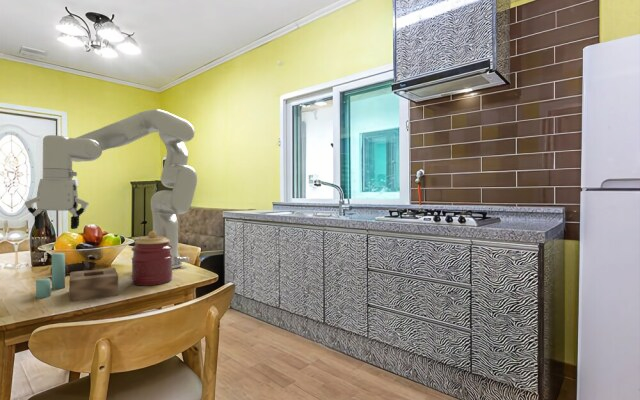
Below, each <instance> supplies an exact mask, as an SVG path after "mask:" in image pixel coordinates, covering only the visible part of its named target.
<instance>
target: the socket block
mask: <svg viewBox="0 0 640 400" xmlns="http://www.w3.org/2000/svg"><path fill="white" fill-rule="evenodd" d="M68 283H69V285H68V286H69V288H68V289H69V292H68V293H69V294H68V295H69V299H68V300H69V301H68V302H70V303H71V302H78V301H83V300H92V299H98V298H99V299H101V298H106V297H114V296H118V295H119V274H118V272H117V270H116V268H115V267H109V268H100V269H88V270H87V271H76V272H70V273H69V280H68Z"/></svg>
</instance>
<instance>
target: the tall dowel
mask: <svg viewBox="0 0 640 400" xmlns="http://www.w3.org/2000/svg"><path fill="white" fill-rule="evenodd" d="M65 265H66V253H64V252H57V253H51V267H52V275H51V290H62V289H65V288H66V274H65Z"/></svg>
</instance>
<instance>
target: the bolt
mask: <svg viewBox="0 0 640 400" xmlns="http://www.w3.org/2000/svg"><path fill="white" fill-rule="evenodd" d="M88 261H89V260H86V261H82V263H78V262H76V263H70V264H65V275H66V274H70V272H76V271H87V270H94V269H95V267H96V265H97V263H96V262H95V263H94V261H93V262H88ZM50 276H52V266H50Z"/></svg>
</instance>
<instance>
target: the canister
mask: <svg viewBox="0 0 640 400" xmlns="http://www.w3.org/2000/svg"><path fill="white" fill-rule="evenodd" d="M169 242H170V240H169V239H167V238H166V237H164V236H157V234H156V232H155V231H153V230H151V231H149V232H148V235H147V236H141V237H139V238H138V239H136V240H134V241H133V243H134V246H133V247H131V251H132V253H133V255H132V257H131V258H130V259H131V277H130V278H131V281H132V284H133V285H136V286H156V285H161V284H162V285H163V284H166V283H169V282H170V281H172V279H173V269H172V257H173V256H172V255H171V249H172V248H173V247H172V246H171V245H170V244H169Z"/></svg>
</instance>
